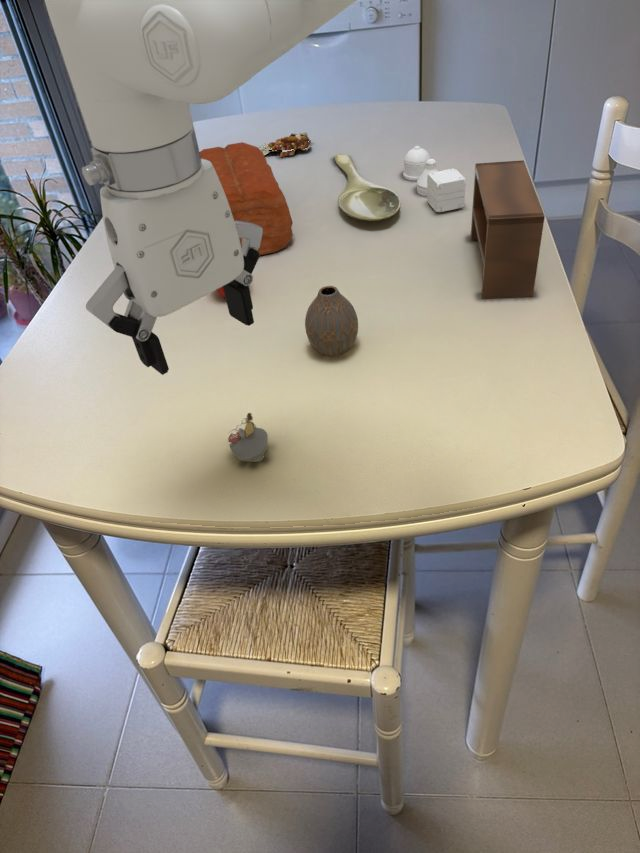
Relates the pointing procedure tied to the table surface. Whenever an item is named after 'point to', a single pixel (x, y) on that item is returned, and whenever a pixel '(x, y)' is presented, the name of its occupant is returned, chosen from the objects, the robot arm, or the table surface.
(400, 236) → the table surface
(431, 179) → the container set
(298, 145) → the pastry
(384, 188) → the spoon
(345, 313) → the vase
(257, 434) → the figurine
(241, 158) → the bread
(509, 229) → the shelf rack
